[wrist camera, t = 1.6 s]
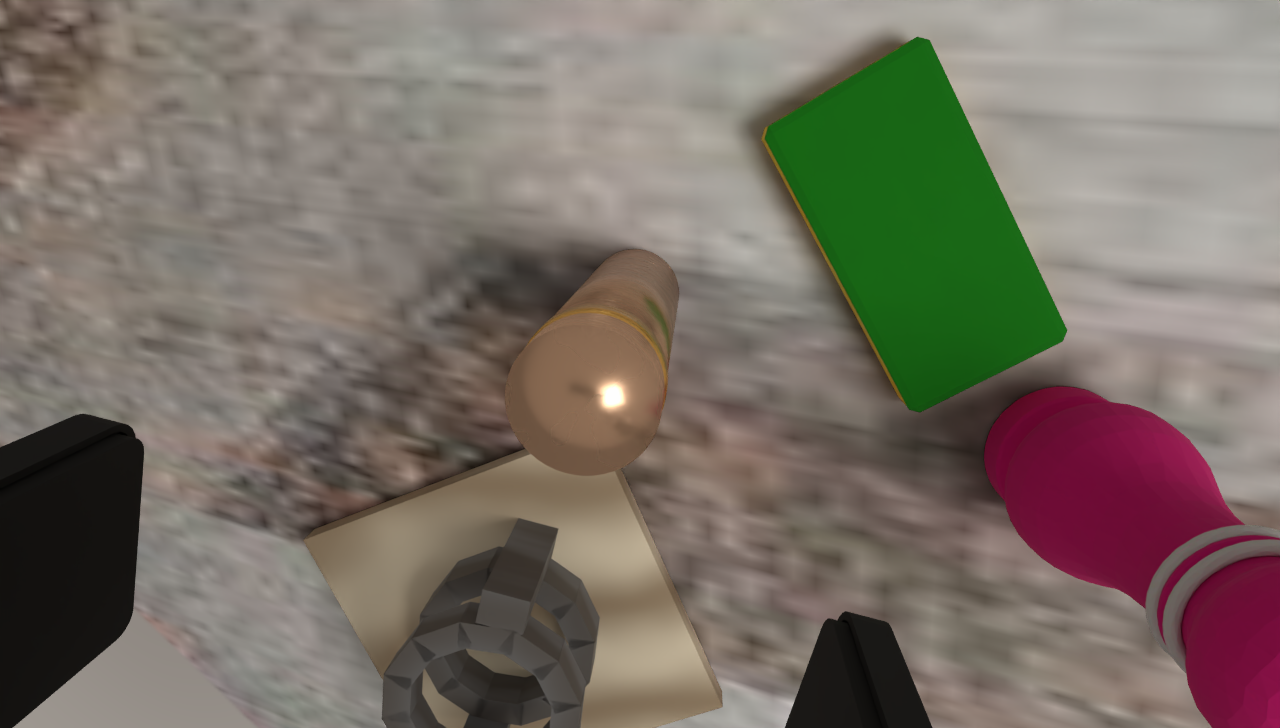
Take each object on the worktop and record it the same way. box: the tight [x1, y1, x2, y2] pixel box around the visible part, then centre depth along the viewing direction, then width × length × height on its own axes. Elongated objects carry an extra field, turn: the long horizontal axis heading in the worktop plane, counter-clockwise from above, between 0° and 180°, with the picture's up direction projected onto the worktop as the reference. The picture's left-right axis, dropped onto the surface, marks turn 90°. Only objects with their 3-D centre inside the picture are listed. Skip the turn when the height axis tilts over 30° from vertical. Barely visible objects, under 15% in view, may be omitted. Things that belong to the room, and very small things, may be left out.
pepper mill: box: [984, 386, 1280, 728], centre depth 26 cm, size 7×7×20 cm
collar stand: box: [303, 449, 722, 728], centre depth 36 cm, size 16×16×8 cm
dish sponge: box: [761, 37, 1067, 412], centre depth 32 cm, size 7×14×2 cm, turn 31°
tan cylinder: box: [505, 249, 679, 476], centre depth 27 cm, size 4×4×16 cm
